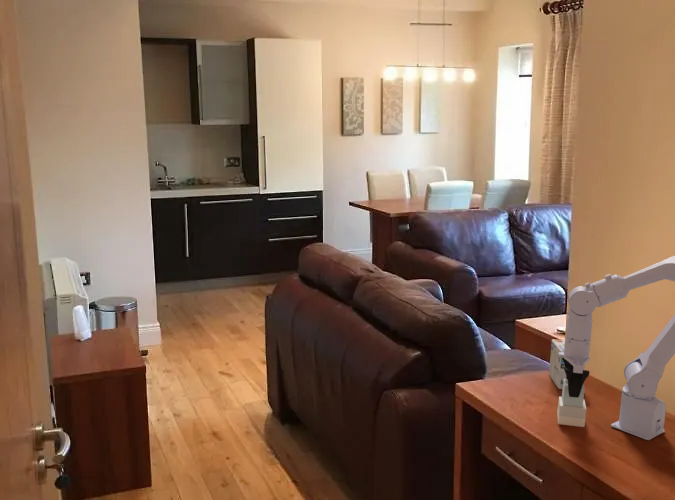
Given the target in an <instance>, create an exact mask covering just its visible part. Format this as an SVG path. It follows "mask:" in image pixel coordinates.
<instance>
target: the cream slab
mask: <svg viewBox="0 0 675 500" xmlns="http://www.w3.org/2000/svg"><path fill="white" fill-rule="evenodd" d="M556 416H557V424H558V425H565V426H574V427H579V428H580V427H582V428H585V425H586V418H585V419H581V418H573V417H565V416H559V411H558V408H557V411H556Z"/></svg>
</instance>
